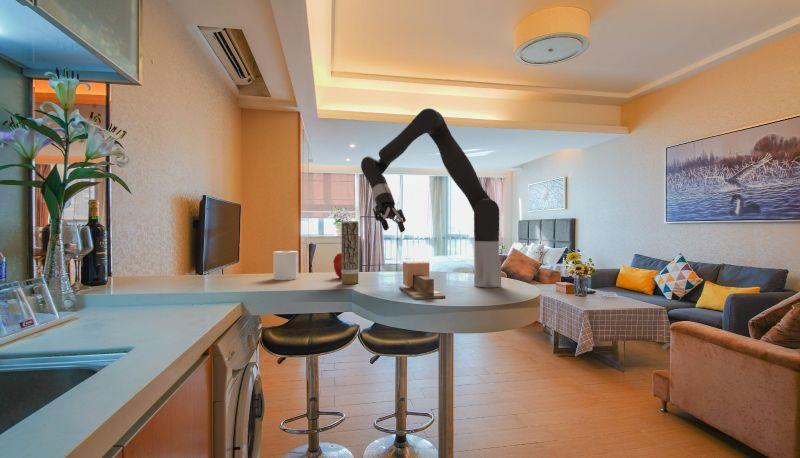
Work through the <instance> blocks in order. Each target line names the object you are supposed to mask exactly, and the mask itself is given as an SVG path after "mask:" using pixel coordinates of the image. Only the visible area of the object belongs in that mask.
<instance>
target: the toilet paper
mask: <svg viewBox="0 0 800 458" xmlns="http://www.w3.org/2000/svg"><path fill="white" fill-rule="evenodd" d="M272 255H273V263H272V264H273V273H272V274H273V276H272V277H273V280H275V281H292V280H298V279H299V251H297V250H278V251H277V250H275V251H273V254H272Z"/></svg>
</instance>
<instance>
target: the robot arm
mask: <svg viewBox="0 0 800 458" xmlns="http://www.w3.org/2000/svg"><path fill="white" fill-rule="evenodd" d="M424 134H427V135H429V136H430V138H431V140H432V141H433V142H434V143H435V145H436V147H437V149H438V152H439V154H440V158H441V161H442V164H443V166H444V167H445V169H446V171H447V172H448V174H449V176H450V177H451V179H452V180H453V182H454V183H455V184H456V186H457V187H458V188H459V189H460V191H461V192H462V193H463V195H465V198H466V199H467V201H468V202H469V206H470V207H471V209H472V211H473V239H474V240H473V242H474V243H473V245H474V246H473V248H474V249H473V253H474V254H473V259H474V260H473V261H474V262H473V263H474V264H473V267H474V270H473V274H474V276H473V281H474V282H473V285H474V286H475V287H478V288H497V287H498V288H499V287H502V261H501V260H500V207H499V205H498V203H497V202H496V201H495V200H493V199H491V198H490V196H489V195H488V193H487V191H485V189H484V188H483V186H482V184H481V182H480V179H479V177H478V175H477V172H476V170H475V168H474V166H473V165H472V163H471V161H470V159H469V158H468V157H467V154H466V153H465V152H464V151H463V149H462V147H461V146H460V145H459V143H458V142H457V141H456V139H455V138H454V136H453V134H452V133H451V131H450V129H449V128H448V126H447V122H446V120H445V119H444V116H443V115H442V114H441V113H440V112H439V111H437V110H435V108H434V109H433V108H430V107H428V108H423V109H422V110H421V111H420V112H419V113H418V114H417V115H416V116H415V117H414V119H412V121H411V122H410V123H408V124H407V126H406V127H405V128H403V130H402V131H401V132H400V133H399V134H398V135H397V136H396V137H394V138H393V139H392V140H391V141H390V142H388V143H387V144H386V145H384V146H383V147H382V148H381V149H380V150H379V151H378V157H379V159H376V158H374V157H373V156H371V155H369V156H364V158H362V159H361V162H360V168H361V172H362V175H364V177H365V178H366V180H367V182H368V183H369V185H370V188H371V191H372V196H373V198H374V202H375V206H374V207H373V208H372V211H373V215H374V218H375V221H376V222H379V223H380V224H381V226H382V229H383V231H388V230H389V228H390V227H389V224H388V219H389V220H392V221H393V222H394V223H396V224H397V227H398V230H399V232H400V233H404V232H405V231H406V228H405V226H404V223H405V222H406V221H407V219H406V217H405V215H404V213H403V210H402V209H401V208H399V209H397V208H396V207H395V205H396V203H395V199H394V196H393V194H392V192H391V188H390V187H389V185H388V182H387V179H386V177H385V175H383V174H384V173H385V171H386V170H387V169H388V167H389V166H390V165H391V164H392V163H393V162H394V161H396V159H398V158H399V157H400V156H401V155H402V154H404V153H405V151H406V150H408V147H409V146H410V145H411V144H412V143H413V142H414V141H416V139H418V138H420V137H421V136H424Z"/></svg>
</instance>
